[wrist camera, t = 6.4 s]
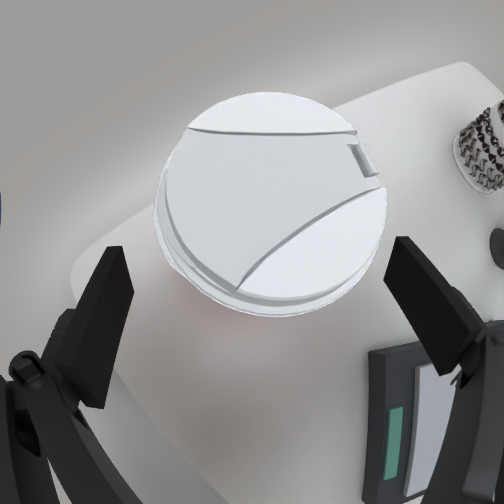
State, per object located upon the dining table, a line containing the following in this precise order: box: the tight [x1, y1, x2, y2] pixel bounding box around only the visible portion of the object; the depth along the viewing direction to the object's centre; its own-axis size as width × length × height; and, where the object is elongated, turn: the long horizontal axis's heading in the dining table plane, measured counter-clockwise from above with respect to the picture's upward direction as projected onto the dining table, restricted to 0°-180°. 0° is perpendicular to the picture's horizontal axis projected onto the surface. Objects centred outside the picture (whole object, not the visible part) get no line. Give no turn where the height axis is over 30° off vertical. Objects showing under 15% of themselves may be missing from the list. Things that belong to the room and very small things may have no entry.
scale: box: [362, 320, 504, 504], centre depth 20 cm, size 17×16×4 cm
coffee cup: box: [152, 92, 387, 317], centre depth 16 cm, size 8×8×15 cm
